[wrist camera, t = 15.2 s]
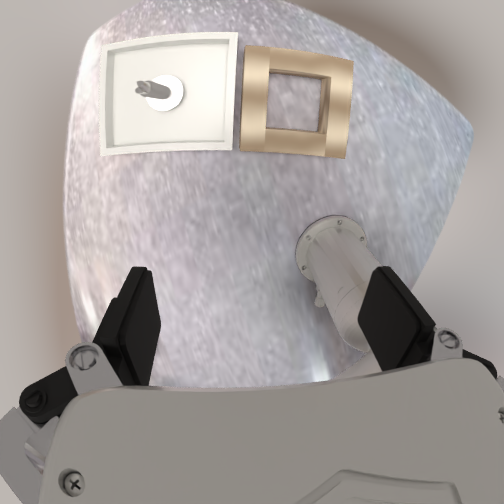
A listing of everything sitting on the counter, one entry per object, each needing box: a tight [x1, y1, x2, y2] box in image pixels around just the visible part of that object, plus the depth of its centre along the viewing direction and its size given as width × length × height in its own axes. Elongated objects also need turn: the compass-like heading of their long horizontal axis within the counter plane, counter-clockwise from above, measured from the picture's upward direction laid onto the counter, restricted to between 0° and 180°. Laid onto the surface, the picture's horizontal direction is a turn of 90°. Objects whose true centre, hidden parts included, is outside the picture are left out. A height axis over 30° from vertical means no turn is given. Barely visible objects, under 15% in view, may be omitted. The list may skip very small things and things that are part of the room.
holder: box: [239, 45, 354, 159], centre depth 32 cm, size 14×14×4 cm
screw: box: [135, 75, 183, 111], centre depth 26 cm, size 13×5×5 cm
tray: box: [99, 32, 238, 156], centre depth 30 cm, size 16×18×4 cm
